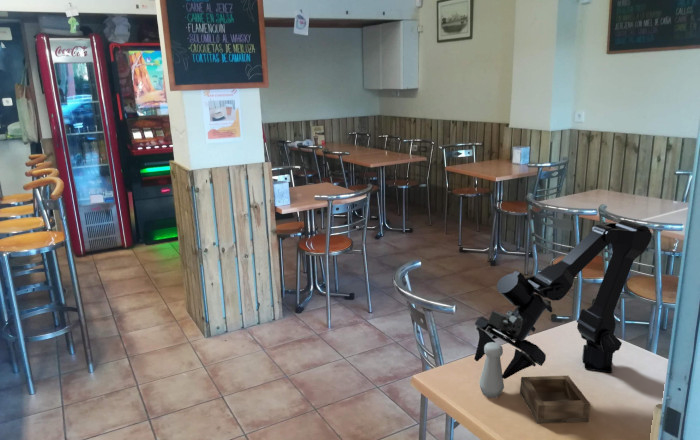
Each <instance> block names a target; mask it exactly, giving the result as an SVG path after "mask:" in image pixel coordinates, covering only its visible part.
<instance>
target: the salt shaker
mask: <svg viewBox="0 0 700 440" xmlns="http://www.w3.org/2000/svg"><path fill="white" fill-rule="evenodd" d="M484 353H485V356H486V357H485V360H484V363H483V367H482V371H481V375H480V379H479V389H480V391H481V393H482V395H484V396H486V397H487V398H491V399H496V398H498V397H500V396H501V394H502V392H503V391H504V388H505V383H504V378H502V375H503V369H502V361H501V360H502V359H501V356H503V353H504V349H503V346H502V345H501V344H500V343H498V342H496V341H495V342H489V343H487V344H486V345H485V347H484Z"/></svg>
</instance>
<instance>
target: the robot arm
mask: <svg viewBox="0 0 700 440" xmlns="http://www.w3.org/2000/svg"><path fill="white" fill-rule="evenodd" d="M652 237H653V234H652V231H651V229H650V228H649V227H648V226H646V225H643V224H640V223H636V222H634V221H632V220H631V221H630V220H628V219H623V220H621V221H619V222H608V223H604V224H601V223H600V224H595V225H594V226H593V227H592V228H591V230H590V232H589V233H588V234H587V235H586V236H584V238H582V240H581V241H580V242H579V243H577V245H576V246H574V247H573V248H572V249H571V250H570V251H569V252H568V253H567V254H566V255H565V256H564V257H563V258H562V259H561V260H560V261H559V260H558V262H557V263H554V264H551V265H547V266H546V267H545V268H543V269H542V270H540V271H539V272H538V273H537V274H535V275H533V276H528V277H526V276H525V275H524V274H523V273H522V272H520V271H519V270H516V269H515V271H514V272H513V273H508V274H506V275H504V276H502V277H501V278H500V279H499V280H498V281H497V283H496V284H497V285H496V289H497V292H498V293H499V294H501V296H502V297H504V298H505V299H506V301H508V302H509V303H510V304H511V305H512V306H514V307H515V308H514V310H511V309H510V310H508V311H507V312H506V314H505V313H503V312H500V311H495V310H491V312H490V315H489V317H488V318H485V317H483V316H480V317H478V318H477V319H476V321H475V322H474V325H475V326H476V331H477V332H478V343H477V345H476V346H477V347H476V351H475V354H474V361H476V362H478V361H479V360H481V359H483V357H484V356H486V354H485V353H484V347H485V345H486V344H487V343H489V342H495V343H496V341H495V339H499V340H501V341H504V342H505V343H507V344H509V345H510V346H513V347H514V348H515V350H514V356H513V358H512V359H511V360H510V362H509V364H508V365H507V367H506V368H505V370H504V371H503V372H502V378H503V380H506V379H508V378H509V377H511V376H514V375H515V374H517V373H519V372H520V371H523V370H525V369H527V368H530V367H536V366H537V365H539V366H541V367H542V366H543V364H545V362H546V359H547V356H546V355H547V354H546V353H545V352H544V351H543V350H542V349H541V348H540V346H538V345H537V344H535V343H533V342H531V341H529V340H528V339H526V338H527V336H528V335H529V334H530V332H532V333H535V331H536V330H537V329H536V327H535V325H536V323H537V322H538V320H539V319H540V318H541V316H542V315H543V313H544V312H545V311H546V312H548V313H552V312H553V307H552V304H551V303H552V302H551V301H557V302H558V301H560V300H562V299H563V298H564V297H565V296H566V295H567V294H568V292H569V291H570V290H571V289H572V287H573V284H574V282H575V281H574V280H575V278H576V277H577V276H578V274H579V273H581V272H582V270H583V269H584V268H585V267H587V265H589V264H590V263H591V262H592V261H593V260H594V259H595V258H596V257H597V256H598V255H599V254H600V253H601V252H602V251H603V250H605V249H606V247H607V246H609V245H611V249H612V255H611V257H610V260H609V262H608V266H607V268H606V271H605V273H604V276H603V278H602V281H601V283H600V286H599V289H598V291H597V294H596V297H595V300H594V302H593V304H592V305H591V306H590V307H588V308H587V309H586V308H582V309H581V310H580V314H579V317H578V319H577V320H576V324H577V327H576V329H577V330H578V333H579V335H580V337H581V339H583V340H585V344H584V345H583V349H582V355H581V356H582V358H581V359H582V360H581V361H582V364H584V365H583V366H584V369H586V370H591V371H598V372H604V373H610V374H612V373H613V359H614V357H613V356H614V354H615V352H617V351H620V349H621V347H622V341H621V340H620V339H619V338H618V337H617V336H616V335H615V330H616V319H615V318H616V317H615V310H616V307H617V305H618V301H620V300H619V299H620V297H621V294H622V292H623V289H624V286H625V284H626V281H627V279H628V277H629V274H630V271H631V269H632V266H633V263H634V261H635V260H636V259H637V258H638V257H640V256H641V255H642V254H644V253H645V251H646V250H647V248H648V246H649V245H650V242H651V240H652Z"/></svg>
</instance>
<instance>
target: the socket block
mask: <svg viewBox="0 0 700 440" xmlns="http://www.w3.org/2000/svg"><path fill="white" fill-rule="evenodd" d="M519 395H520V396H521V398H522V400H523V401H524V403H525V405H526V406H527V408H528V409H529V411H530V413H531V415H532V417H533V419H534V420H535V422H536V423H537V424H556V423H557V424H560V423H587V422H589V420H590V419H589V418H590V413H591V411H590V409H591V403H590V401H589V400H588V399H587V397H586V396H585V395H584V394H583V393H582V391H581V390H580V389H579V387H578V386H577V385H576V384H575V382H574V381H573V379H571V377H570V376H569V375H544V376H542V375H541V376H540V375H539V376H521V377H520V388H519Z"/></svg>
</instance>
